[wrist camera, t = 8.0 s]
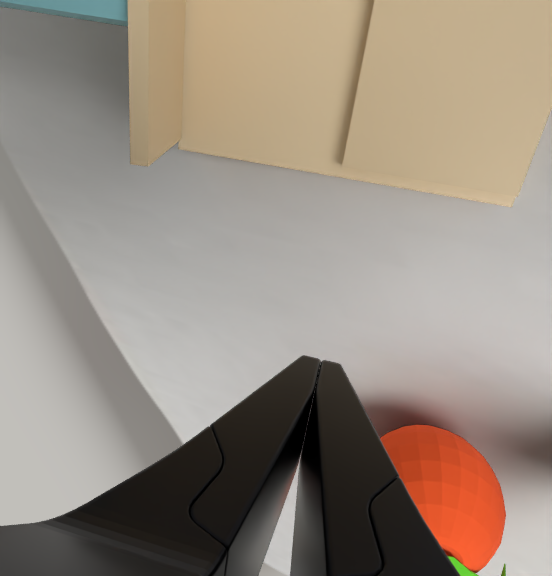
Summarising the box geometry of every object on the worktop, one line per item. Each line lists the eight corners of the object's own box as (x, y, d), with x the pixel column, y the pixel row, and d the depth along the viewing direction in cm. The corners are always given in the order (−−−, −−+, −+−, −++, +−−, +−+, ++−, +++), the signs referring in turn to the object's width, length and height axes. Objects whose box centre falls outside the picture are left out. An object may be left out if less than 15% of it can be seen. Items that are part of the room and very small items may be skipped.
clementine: (531, 454, 23) (592, 591, 16) (443, 517, 26) (465, 654, 19) (409, 374, 22) (422, 483, 16) (335, 448, 25) (321, 564, 19)
